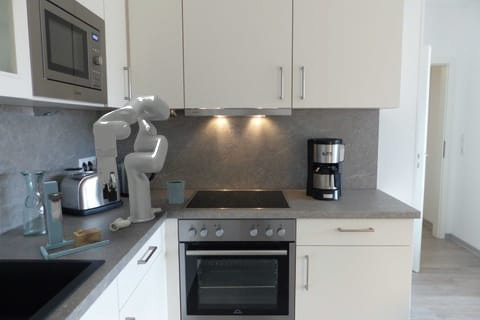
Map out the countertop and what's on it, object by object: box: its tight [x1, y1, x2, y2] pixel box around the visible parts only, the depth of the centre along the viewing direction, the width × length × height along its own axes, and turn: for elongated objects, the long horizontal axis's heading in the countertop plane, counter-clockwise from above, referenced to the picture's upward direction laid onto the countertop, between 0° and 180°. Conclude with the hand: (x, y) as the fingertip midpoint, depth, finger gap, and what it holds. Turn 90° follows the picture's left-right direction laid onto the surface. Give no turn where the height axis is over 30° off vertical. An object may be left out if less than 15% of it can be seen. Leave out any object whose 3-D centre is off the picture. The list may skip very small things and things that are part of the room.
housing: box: [72, 227, 102, 248], centre depth 119 cm, size 8×6×6 cm
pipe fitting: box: [109, 217, 132, 232], centre depth 137 cm, size 8×4×7 cm
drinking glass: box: [166, 179, 186, 205], centre depth 180 cm, size 10×10×12 cm
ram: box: [47, 192, 64, 222], centre depth 112 cm, size 5×5×10 cm
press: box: [40, 180, 110, 261], centre depth 117 cm, size 21×16×24 cm
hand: (110, 199), depth 124 cm, fingers open, 5 cm apart
